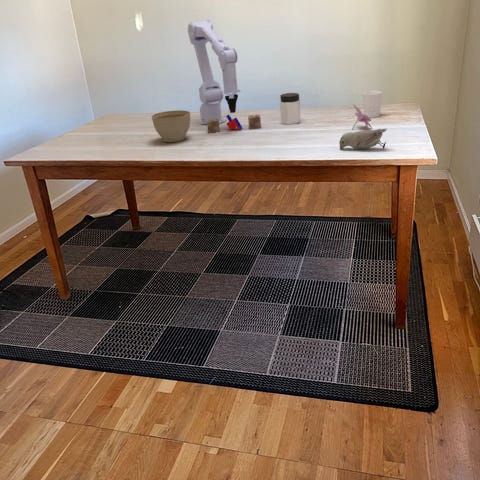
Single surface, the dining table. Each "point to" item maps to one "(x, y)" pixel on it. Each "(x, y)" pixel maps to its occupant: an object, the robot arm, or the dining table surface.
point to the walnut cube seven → (213, 125)
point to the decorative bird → (362, 139)
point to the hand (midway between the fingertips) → (232, 112)
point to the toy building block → (233, 123)
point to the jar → (290, 108)
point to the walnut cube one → (254, 122)
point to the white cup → (372, 103)
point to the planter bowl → (172, 124)
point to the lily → (361, 117)
